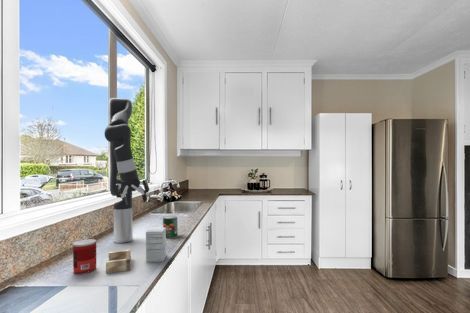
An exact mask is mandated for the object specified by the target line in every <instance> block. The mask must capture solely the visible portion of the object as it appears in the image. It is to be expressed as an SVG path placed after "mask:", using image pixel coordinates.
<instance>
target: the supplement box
mask: <svg viewBox="0 0 470 313" xmlns="http://www.w3.org/2000/svg"><path fill="white" fill-rule="evenodd" d="M145 257H146V260H145V261H146V263H151V262H152V263H155V262H156V263H157V262H164V261H165V259H166V257H167V239H166V227H163V226H162V227H159V226H158V227H148V229H147V230H146V231H145Z"/></svg>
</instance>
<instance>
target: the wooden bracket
mask: <svg viewBox="0 0 470 313" xmlns="http://www.w3.org/2000/svg"><path fill="white" fill-rule="evenodd" d="M131 251H132V250H131V249H123V250H116V251H109V252H108V260H106V261H105V274H109V273H111V274H112V273H117V272H125V271H130V270H131V261H132V256H131Z"/></svg>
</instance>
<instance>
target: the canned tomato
mask: <svg viewBox="0 0 470 313" xmlns="http://www.w3.org/2000/svg"><path fill="white" fill-rule="evenodd" d="M162 227H166V240H168V239H175V238H177V237H178V236H179V235H178V234H179V233H178V215H165V216H163V217H162Z"/></svg>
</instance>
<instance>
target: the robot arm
mask: <svg viewBox="0 0 470 313" xmlns="http://www.w3.org/2000/svg"><path fill="white" fill-rule="evenodd" d="M108 108H109V110H108V111H109V123H108V125H107V126H106V127H105V129H104V138H105V139H106V141H108V142H109V144H110V149H109V151H110V184H109V186H110V187H109V190H110V194H111V195H112V197H116V198H117V199H119V198H121V200H118V201H116V202H114V203H113V242H114V243H116V244H121V243H129V242H131V241H133V239H134V237H133V235H134V234H133V231H134V230H133V192H136V191H137V192H139V193H140V194H141V198H142V201H143V203H147V201H148V195H147V193H149V192H150V187H149V184H148V180H147V179H146V178H144V179H141V180H140V179H139V178H140V177H139V173H138V170H137V167H136V166H137V165H136V162H135V160H134V156H133V152H132V146H131V145H132V144H131V141H132V130H131V127H130V126H129V125H128V124H129V119H130V117H132V113H133V103H132V100H130V99H128V98H119V97H111V98H110V99H109V101H108ZM118 175H119V178H118ZM141 185H143V187H142V186H141Z"/></svg>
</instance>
